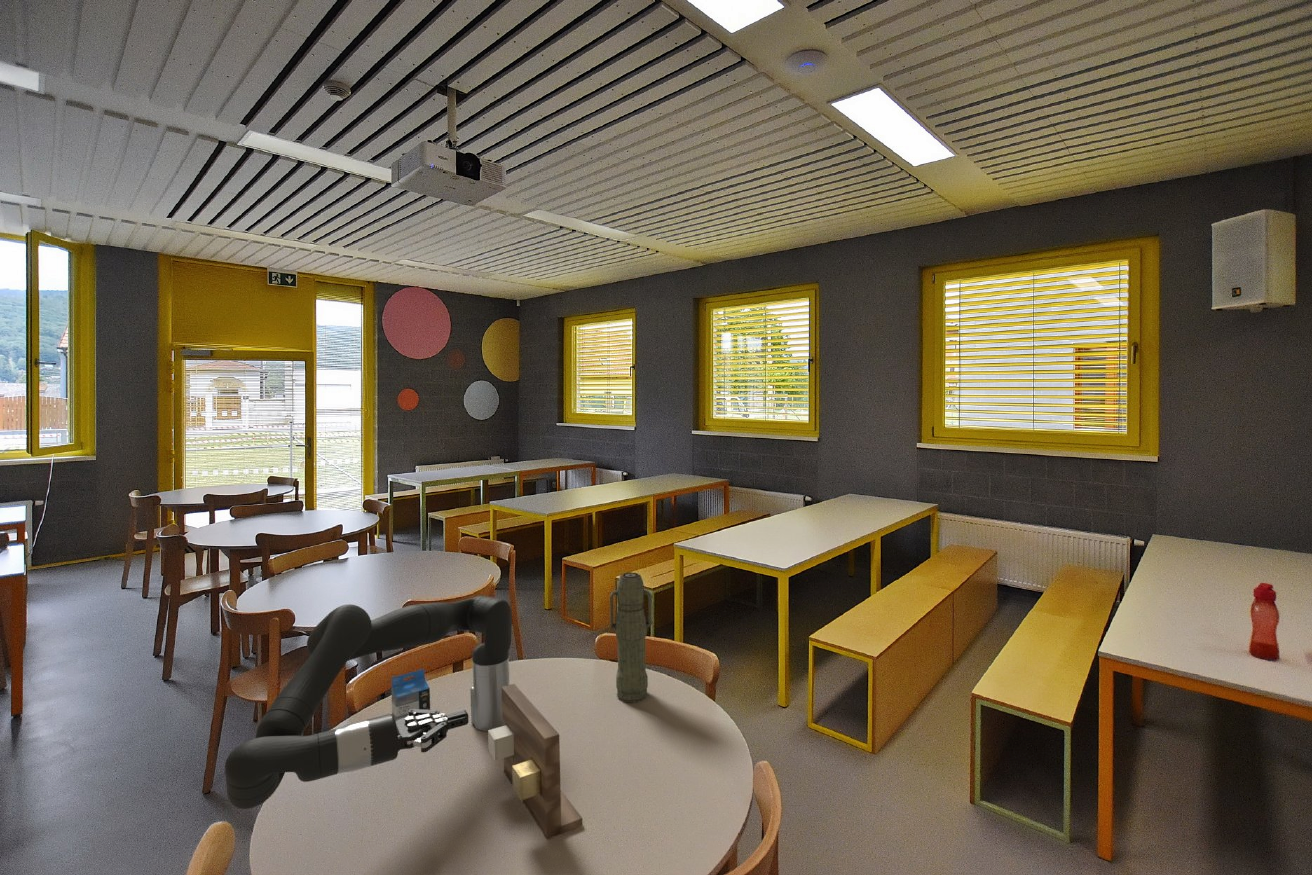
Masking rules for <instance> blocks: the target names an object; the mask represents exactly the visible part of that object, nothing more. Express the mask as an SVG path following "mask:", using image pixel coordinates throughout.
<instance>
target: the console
mask: <svg viewBox="0 0 1312 875" xmlns="http://www.w3.org/2000/svg"><path fill="white" fill-rule="evenodd" d="M501 689H502V726H505V725H508V727H509V728H510V729H511V731H512V732H513V733H514V755H512V756H509V757H505V758H502V759H503V774H504V775H505V777H506V778H507V780H508V781H509V783H510V784H511V786H512V787H513V777H512V766H513V765H516V764H520V763H523V762H526V761H529V760H532V759H533V760H534V761H535V762H536V764H537V765H538V766H539V768H540V769H541V787H542V793H541V794H538V795H535V796H532V797H530V798H527V799H524V800H521V802H522V803H523V804H524V806H525V808H526V809H527V810H528V812H529V814H530V815H531V817H532V818H533V820H534V821H535V823H536V824H537V826H538V828H539V829H540V831H541V832H542V834H543V836H544V837H545V839H546V840H549V839H552V838H554V837H556V836H559V835H561V834H564V833H567V832H569V831H573V829H576V828H579V827H581V826H583V817H582V816H581V814H580V813H579V812H578V810H577V809H576V808H575V806H574V805H573V804H572V802H571V801H570V800H569V799H568V797H567V796H566V794H565V793H564V792H563V791H562V788H561V755H560V754H561V751H560V750H561V749H560V733H559V732H558V731H557V730H556V729H555V728H554V727H553V726H552V724H551V723H550V722H549V721H548V719H546V718H545V717H544V715H543V714H542V713H541V712H540V711H539V709H537V707H536V706H535V705H534V704H533V703H532V702H531V700H530V699H529V698H528V697H527V696H526V695H525V693H524V692H522V691H521V689H520V688H519V687H518V686H517V685H516V684H515V683H510V685H507V686H503V687H501Z"/></svg>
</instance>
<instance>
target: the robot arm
mask: <svg viewBox="0 0 1312 875" xmlns="http://www.w3.org/2000/svg"><path fill="white" fill-rule="evenodd" d="M512 625H513V613H512V608H511V605H510V603H509V602H508V601H507V600H504V599H501V598H497V597H492V596H488V595H487V596H486V595H478V596H473V597H470V598H466V599H463V600H459V601H458V600H457V601H453V602H430V603H428V602H427V603H419V604H418V603H417V604H412V605H406V606H404V607H401V608H399V609H396V610H393V611H391V612H388V613H386V614H384V615H381V616H378V617H376V618H375V619H371V617H370V615H369V614H368V612H367V611H366V610H365V609H364V608H362V607H360V606H359V605H356V604H343V605H339V606H338V607H336V608H334V609H333V610H332V611H330V612H329V613H328V614H327V615H326V616H325V617H324V618H323V619H322V620H320V621H319V623H318V624H316V626H315V627H314V628H313V629H312V631H311V632H310V634H309V635H308V637H307V640H306V650H307V653H308V654H309V655H310V656H309V657H308V658H307V660H306V661H304V664H303V665H302V666H301V667H300V668H299V669H298V671H297V672H296V673H295V674H294V675H293V676H292V678H291V679H290V680H289V681H288V682H287V684H286V685H285V686H284V687H283V689H281V691H280V692H279V693H278V695H277V696H276V698H275V699H274V701H273V702H272V704H271V705H270V706H269V708H268V709H267V711H266V712H265V713H264V715H263V717H262V718H261V719H260V722H259V724H258V726H257V729H256V732H255V738H252V739H250V740H246V741H245V742H242V743H241V744H239V745H238V746H236V747H235V748H234V749H233V750H232V751H230V753H229V755H228V756H227V758H226V760H225V763H224V775H225V783H226V793H227V798H228V800H229V802H230V803H231V805H232V806H234V807H235V808H238V809H241V810H248V809H254V808H255V807H258V806H260V805H262V804H263V803H265V802H266V801H267V800H269V799H270V797H272V796H273V795H274V793H275V792H276V791H277V789H278V787H279V786H280V784H281V782H282V780H283V779H284V776H285V773H293V774H295V775H296V776H297V778H298V780H300V781H301V782H304V783H308V782H312V781H316V780H321V779H324V778H328V777H331V776H335V775H339V774H343V773H349V772H355V771H358V770H363V769H366V768H370V767H372V766H373V767H374V766H377V765H379V764H384V763H388V762H390V761H394V760H396V759H397V758H398V755H399V751H400V750H410V749H411V750H412V749H413V748H415V747H418V748H420V752H421V753H427V752H429V751H430V750H432V748H434V747H435V746H437V745H438V744H439V743H440V742H442V741H443V740H445V739H446V738H447V733H448V732H449V730H453V729H457V728H459V727H463V726H464V727H465V726H467V725H468V724H469V713H468V712H467V710H465V709H462V710H459V711H455V712H451V713H447V714H446V713H445V712H443V713H440V710H439V709H430V710H423V709H410V710H409V711H408V716H407V717H406V718H401V719H399V720H396V721H395V718H394V716H393V715H392V713H389V714H384V715H381V716H376V717H371V718H368V719H365V720H359V721H356V722H351V723H349V724H346V725H343V726H341V727H337V728H334V729H330V730H325V731H322V732H321V731H320V732H318V733H315V734H311V735H303V734H304V732H305V731H306V730H307V729H306V728H307V727H308V725H309V724H310V722H311V720H312V719H313V717H314V715H315V713H316V712H317V710H318V709H319V706H320V705H321V703H322V701H323V700H324V698H325V696H326V695H327V693H328V691H329V689H331V686H332V685H333V683H334V682H335V680H336V678H337V677H338V675H339V674H340V672H341V671H342V669H344V666H345V665H346V664H347V662H349V661H352V660H355V659H358V658H362V657H365V656H368V655H372V654H377V653H381V652H388V651H389V652H390V651H395V650H400V649H405V648H411V647H418V646H424V645H430V644H433V643H437V642H440V641H441V640H443V639H444V638H445V637H446V636H447V635H448V634H450V633H453V632H459V631H460V632H461V631H469V632H475V633H480V634H484V642H482V643H481V644H479V645H478V644H477V645H476V646H475V647H474V648H473V650H472V653H471V657H472V660H471V661H472V687H470V716H471V718H470V719H471V720H470V721H471V724H473V725H474V728H475V729H477V730H480V731H483V732H488V730H491V729H495V728H498V727H502V689H501V687H503V686H507V685H511V683H510V656H509V655H510V654H509V653H510V648H511V644H512V632H513V630H512V629H513V628H512V627H513V626H512Z"/></svg>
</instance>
